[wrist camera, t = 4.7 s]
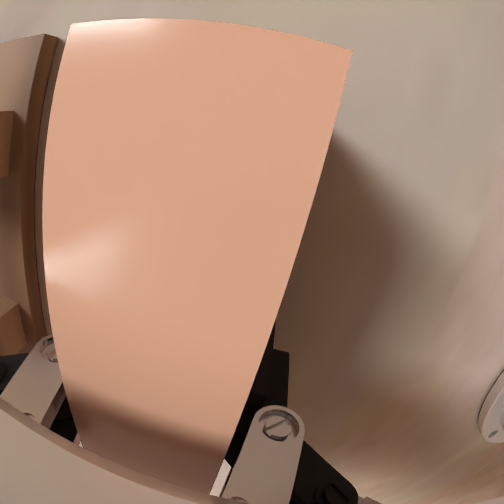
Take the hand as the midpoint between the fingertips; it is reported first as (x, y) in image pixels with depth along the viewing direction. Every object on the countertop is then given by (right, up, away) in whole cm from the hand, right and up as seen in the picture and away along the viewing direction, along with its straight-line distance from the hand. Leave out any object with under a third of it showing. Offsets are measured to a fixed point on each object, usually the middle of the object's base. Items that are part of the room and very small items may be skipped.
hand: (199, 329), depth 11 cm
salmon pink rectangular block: (0, +1, +1) cm, 1 cm away
